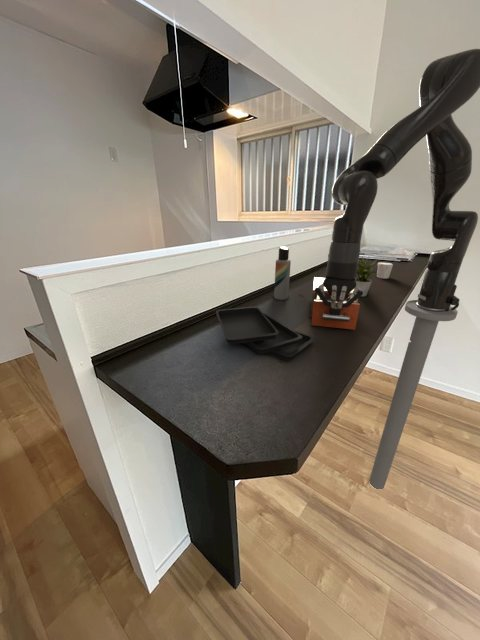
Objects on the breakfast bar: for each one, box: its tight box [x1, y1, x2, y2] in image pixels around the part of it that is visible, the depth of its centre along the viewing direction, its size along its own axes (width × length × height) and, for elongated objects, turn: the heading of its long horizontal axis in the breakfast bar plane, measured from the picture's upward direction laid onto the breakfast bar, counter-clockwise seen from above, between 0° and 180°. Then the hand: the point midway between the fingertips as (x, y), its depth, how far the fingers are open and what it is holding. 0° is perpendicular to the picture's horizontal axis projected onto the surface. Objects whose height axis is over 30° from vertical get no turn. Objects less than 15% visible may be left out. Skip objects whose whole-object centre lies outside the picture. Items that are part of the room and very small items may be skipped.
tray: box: [215, 306, 316, 362], centre depth 73 cm, size 30×23×5 cm
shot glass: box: [376, 261, 394, 280], centre depth 133 cm, size 7×7×7 cm
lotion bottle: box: [273, 246, 292, 301], centre depth 103 cm, size 6×6×20 cm
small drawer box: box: [309, 276, 359, 319], centre depth 91 cm, size 16×14×10 cm
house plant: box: [355, 255, 383, 297], centre depth 107 cm, size 14×14×16 cm
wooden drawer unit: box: [310, 293, 361, 331], centre depth 82 cm, size 19×13×8 cm, turn 164°
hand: (333, 319), depth 76 cm, fingers closed
